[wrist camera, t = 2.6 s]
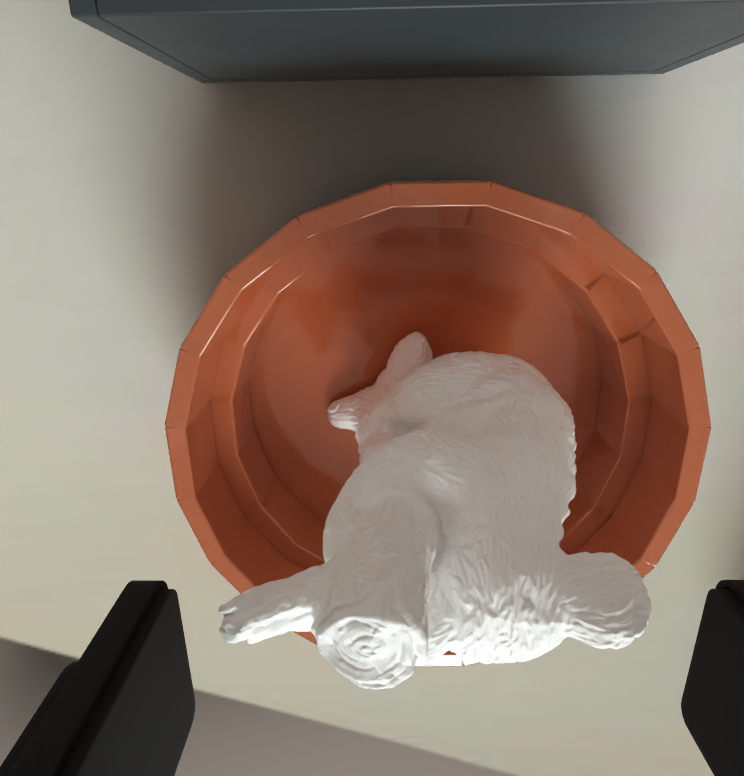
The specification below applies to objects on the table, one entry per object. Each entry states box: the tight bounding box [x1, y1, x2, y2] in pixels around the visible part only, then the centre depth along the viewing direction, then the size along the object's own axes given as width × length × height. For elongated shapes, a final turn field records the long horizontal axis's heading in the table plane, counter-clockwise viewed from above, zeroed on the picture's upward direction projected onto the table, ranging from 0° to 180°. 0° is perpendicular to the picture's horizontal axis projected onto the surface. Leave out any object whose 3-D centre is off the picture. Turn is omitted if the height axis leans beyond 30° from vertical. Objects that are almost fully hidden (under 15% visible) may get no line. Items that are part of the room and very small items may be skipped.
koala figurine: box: [219, 332, 652, 690], centre depth 15 cm, size 8×7×12 cm
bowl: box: [165, 180, 711, 667], centre depth 18 cm, size 15×15×5 cm
